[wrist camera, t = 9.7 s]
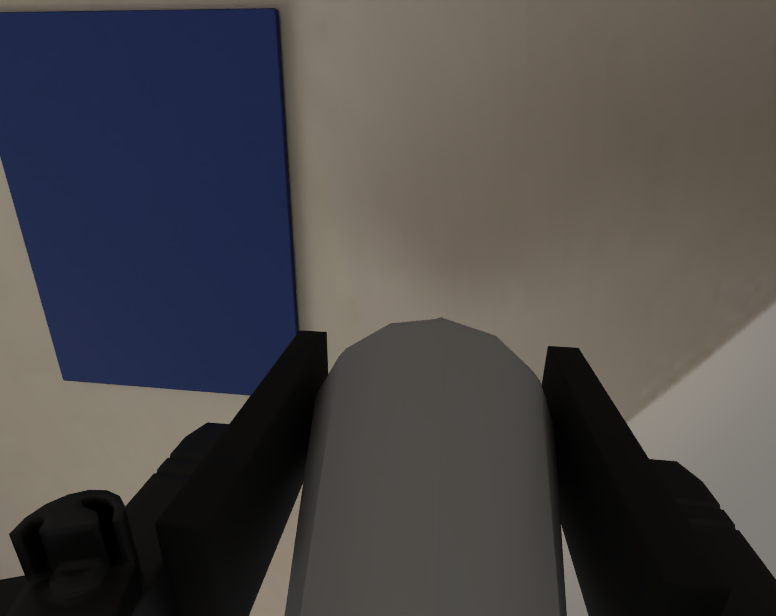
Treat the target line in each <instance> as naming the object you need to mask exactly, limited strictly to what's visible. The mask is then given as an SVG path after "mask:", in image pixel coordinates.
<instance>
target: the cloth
mask: <svg viewBox="0 0 776 616" xmlns="http://www.w3.org/2000/svg"><path fill="white" fill-rule="evenodd" d="M0 157H1V160H2V164H3V167H4V171H5V174H6V178H7V182H8V185H9V189H10V192H11V196H12V199H13V203H14V206H15V210H16V214H17V217H18V221H19V224H20V228H21V231H22V235H23V238H24V242H25V245H26V249H27V253H28V256H29V260H30V263H31V267H32V270H33V274H34V277H35V281H36V284H37V288H38V292H39V295H40V299H41V302H42V306H43V309H44V313H45V316H46V320H47V324H48V327H49V331H50V334H51V338H52V341H53V345H54V348H55V352H56V355H57V359H58V363H59V366H60V370H61V373H62V377H63V380H66V381H78V382H91V383H103V384H115V385H128V386H140V387H153V388H165V389H178V390H190V391H202V392H215V393H227V394H240V395H252V393H253V392H254V391H255V389H256V388H257V387H258V385H259V384H260V383H261V381H262V380H263V379H264V377H265V376H266V375H267V373H268V372H269V371H270V369H271V368H272V367H273V365H274V364H275V362H276V361H277V360H278V358H279V357H280V356H281V354H282V353H283V352H284V350H285V349H286V348H287V346H288V345H289V344H290V342H291V341H292V340H293V338H294V337H295V336H296V334H297V333H298V317H297V301H296V285H295V269H294V253H293V237H292V221H291V205H290V189H289V173H288V157H287V141H286V125H285V109H284V93H283V77H282V61H281V45H280V29H279V13H278V10H276V9H275V8H264V9H198V10H132V11H65V12H0Z"/></svg>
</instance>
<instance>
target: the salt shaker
mask: <svg viewBox="0 0 776 616" xmlns="http://www.w3.org/2000/svg"><path fill="white" fill-rule="evenodd" d="M562 551H563V550H562V534H561V519H560V503H559V487H558V471H557V456H556V440H555V428H554V424H553V421H552V418H551V415H550V411H549V408H548V405H547V402H546V398H545V395H544V392H543V389H542V385H541V382H540V380H539V379H538V378H537V376H536V375H535V373H534V372H533V371H532V370H531V369H530V368H529V367H528V366H527V365H526V364H525V363H524V362H523V361H522V360H521V359H520V358H519V357H518V356H516V355H515V354H514V353H513V352H512V351H511V350H510V349H509V348H508V347H507V346H506V345H505V344H504V343H503V342H502V341H501V340H500V339H499V338H498V337H497V336H495V335H492V334H489V333H486V332H483V331H480V330H477V329H474V328H471V327H468V326H465V325H462V324H459V323H456V322H453V321H450V320H447V319H444V318H442V317H441V318H437V319H432V320H422V321H412V322H401V323H391V324H389V325H387V326H385V327H383V328H382V329H380V330H378V331H376V332H375V333H373V334H371V335H369V336H368V337H366V338H364V339H362V340H361V341H359V342H357V343H355V344H353V345H352V346H350V347H348V348H347V349H346V350H345V351H344V352H343V353H342V354H341V355H340V356H339V357H338V359H337V361H336V362H335V364H334V366H333V368H332V369H331V371H330V373H329V374H328V376H327V378H326V379H325V381H324V383H323V385H322V386H321V388H320V390H319V391H318V393H317V395H316V397H315V403H314V411H313V418H312V425H311V432H310V439H309V446H308V453H307V460H306V468H305V475H304V482H303V489H302V496H301V503H300V510H299V518H298V525H297V532H296V539H295V546H294V553H293V560H292V567H291V575H290V582H289V589H288V596H287V603H286V610H285V616H567V613H566V599H565V598H566V597H565V582H564V568H563V567H564V566H563V552H562Z"/></svg>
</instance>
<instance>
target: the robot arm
mask: <svg viewBox="0 0 776 616" xmlns="http://www.w3.org/2000/svg"><path fill="white" fill-rule="evenodd" d="M327 376H328V357H327V332H316V331H300V330H299V332H298V333H297V334H296V336H295V337H294V338H293V340H292V341H291V342H290V344H289V345H288V346H287V348H286V349H285V350H284V352H283V353H282V354H281V356H280V357H279V358H278V360H277V361H276V362H275V364H274V365H273V367H272V368H271V369H270V371H269V372H268V373H267V375H266V376H265V377H264V379H263V380H262V381H261V383H260V384H259V385H258V387H257V388H256V389H255V391H254V392H253V393H252V395H251V396H250V397H249V399H248V400H247V401H246V403H245V404H244V405H243V407H242V408H241V409H240V411H239V412H238V413H237V415H236V416H235V417H234V419H233V420H232V421H231V423H230V424H219V423H206V424H205V425H203V426H201V427H200V428H198V429H197V430H195V431H194V432H192V433H191V434H189V435H188V436H186V437H185V438H184V439H183V440H182V441H181V443H180V444H179V445H178V446H177V447H176V448H175V450H174V451H173V452H172V453H171V454H170V458H167V459H166V460H165V461H164V462H163V464H162V465H161V466H160V467H159V468H158V469H157V473H156V474H153V475H152V476H151V477H150V479H149V480H148V481H147V482H146V483H145V484H144V486H143V487H142V488H141V489H140V490H139V491H138V493H137V494H136V495H135V496H134V497H133V498H132V500H131V501H130V502H129V503H128V504H127V505H126V506H125V505H124V504H123V502H122V500H121V498H120V496H118V495H116V494H114V493H112V492H109V491H107V490H87V491H82V492H78V493H73V494H69V495H66V496H64V497H61V498H59V499H57V500H54V501H52V502H50V503H48V504H45V505H44V506H42V507H41V508H39V509H38V510H36V511H35V512H33V513H32V514H30V515H29V516H27V517H26V518H24V520H23V521H22V522H21V523H20V524H19V525H18V526H17V527H16V528H15V529H14V530H13V531H12V532H11V533H10V534H9V535H10V538H11V541H12V543H13V546H14V548H15V551H16V553H17V556H18V559H19V561H20V564H21V566H22V569H23V571H24V574H25V576H19V577H14V578H8V579H2V580H0V616H249V614H250V611H251V609H252V607H253V604H254V602H255V599H256V597H257V594H258V592H259V589H260V587H261V584H262V582H263V580H264V577H265V575H266V572H267V570H268V567H269V565H270V562H271V560H272V558H273V555H274V553H275V550H276V548H277V545H278V543H279V540H280V538H281V535H282V533H283V531H284V528H285V526H286V523H287V521H288V518H289V516H290V513H291V511H292V508H293V506H294V504H295V501H296V499H297V496H298V494H299V491H300V489H301V486H302V484H303V481H304V475H305V468H306V460H307V453H308V446H309V439H310V432H311V425H312V418H313V411H314V403H315V397H316V395H317V393H318V391H319V390H320V388H321V386H322V385H323V383H324V381H325V379H326V378H327ZM542 389H543V392H544V395H545V398H546V402H547V405H548V408H549V411H550V415H551V418H552V421H553V424H554V428H555V440H556V456H557V471H558V487H559V503H560V519H561V525H562V528H563V532H564V535H565V538H566V542H567V545H568V549H569V552H570V555H571V558H572V562H573V565H574V568H575V572H576V575H577V578H578V582H579V585H580V588H581V592H582V595H583V598H584V602H585V605H586V608H587V612H588V615H589V616H776V579H775V578H774V577H773V575H772V574H771V573H770V571H769V570H768V569H767V567H766V566H765V565H764V563H763V562H762V561H761V559H760V558H759V557H758V555H757V554H756V552H755V551H754V550H753V548H752V547H751V546H750V544H749V543H748V542H747V541H746V539H745V538H744V536H743V535H742V534H741V532H740V531H739V530H736V529H735V524H734V523H733V522H732V521H731V519H730V518H729V516H728V515H727V514H726V513H725V511H724V510H721V509H720V504H719V503H718V502H717V500H716V499H715V498H714V496H713V495H712V494H711V493H710V491H709V490H708V488H707V487H706V486H705V484H704V483H703V482H702V481H701V480H700V479H698V478H697V477H696V476H695V475H693V474H692V473H691V472H689V471H688V470H687V469H686V468H684V467H683V466H682V465H681V464H679V463H678V462H677V461H665V460H653V459H649V458H648V457H647V455H646V453H645V452H644V450H643V449H642V447H641V446H640V444H639V442H638V441H637V439H636V438H635V436H634V435H633V433H632V431H631V430H630V428H629V427H628V425H627V424H626V422H625V420H624V419H623V417H622V416H621V414H620V413H619V411H618V409H617V408H616V406H615V405H614V403H613V402H612V400H611V398H610V397H609V395H608V394H607V392H606V391H605V389H604V387H603V386H602V384H601V383H600V381H599V379H598V378H597V376H596V375H595V373H594V372H593V370H592V368H591V367H590V365H589V364H588V362H587V361H586V359H585V357H584V356H583V354H582V353H581V351H580V350H579V348H571V347H555V346H548V349H547V356H546V362H545V368H544V374H543V380H542Z"/></svg>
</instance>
